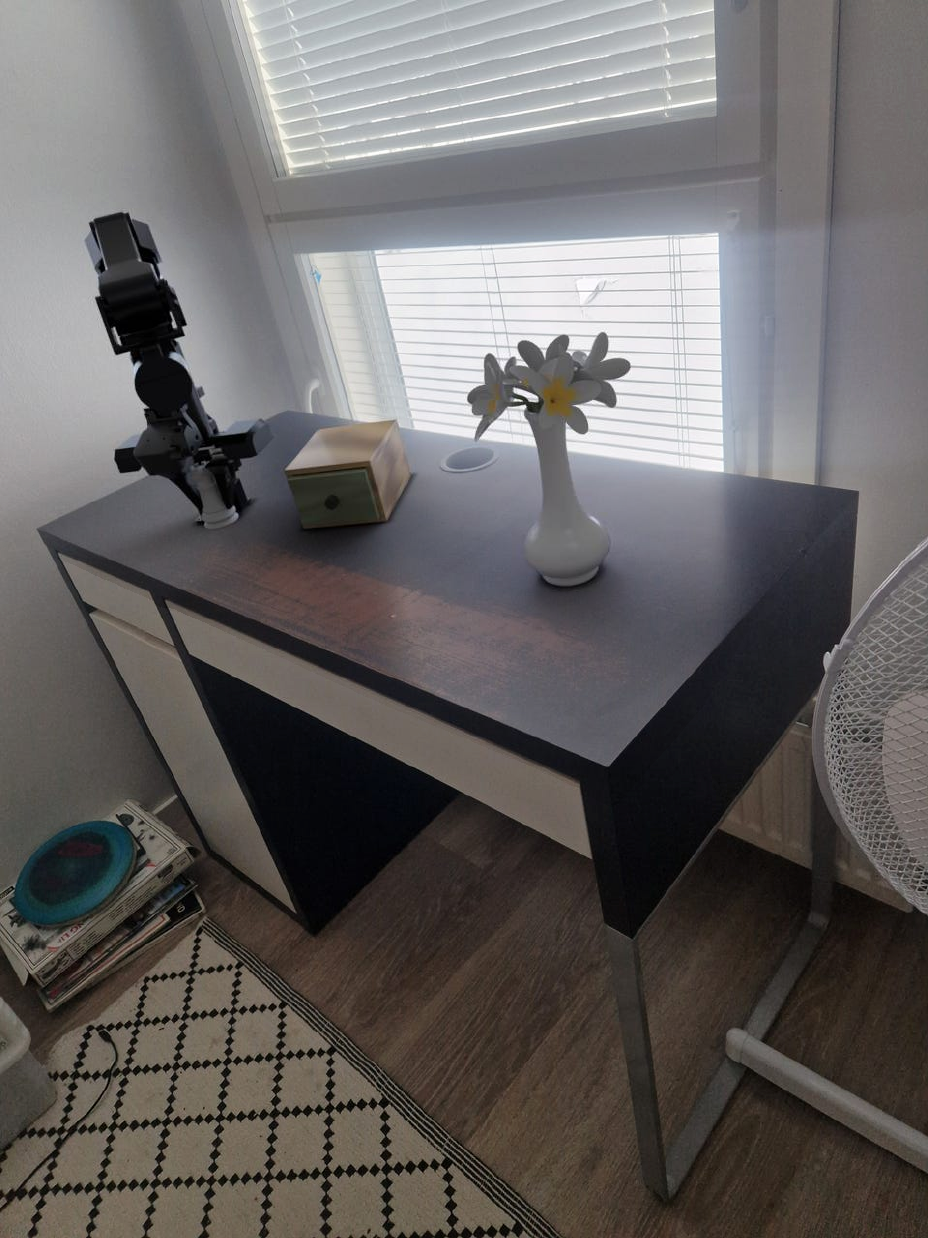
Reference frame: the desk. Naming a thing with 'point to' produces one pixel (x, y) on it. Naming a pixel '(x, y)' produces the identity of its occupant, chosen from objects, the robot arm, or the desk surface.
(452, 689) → the desk surface
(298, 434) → the desk surface
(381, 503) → the drawer unit
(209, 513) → the rook chess piece
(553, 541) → the flower vase
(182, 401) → the robot arm
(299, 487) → the drawer
